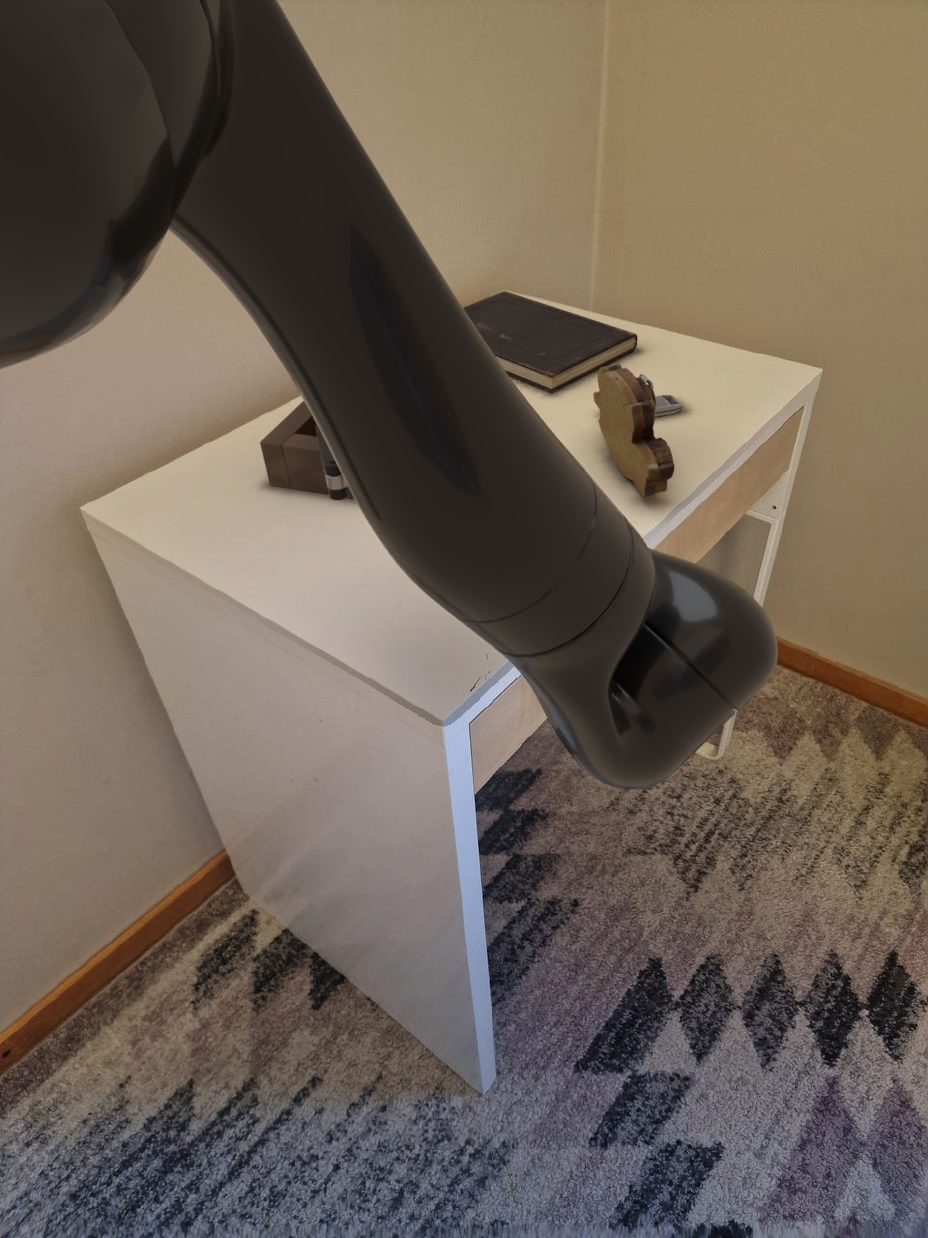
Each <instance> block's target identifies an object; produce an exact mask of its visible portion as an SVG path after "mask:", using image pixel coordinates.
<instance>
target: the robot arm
mask: <svg viewBox="0 0 928 1238" xmlns="http://www.w3.org/2000/svg"><path fill="white" fill-rule="evenodd" d="M168 231H169V232H170V233H172V234H173V235H174V236H175V237H176V238H178V240H180V241H181V242H182V243H183V244H184V245H185V246H186V247H188V249H190V251H192V252H193V253H194V254H195V255H196V256H197V257H198V258H199V259H200V260H201V261H202V262H203V263H204V264H205V265H206V266H207V267H208V268H209V269H210V270H211V272H213V274H214V275H215V276H216V277H218V279H219V280H220V281H221V283H223V285H224V286H225V287H226V288H227V289H228V290H229V291H230V292H231V293H232V295H233V297H235V298H236V300H237V301H238V302H239V303H240V305H241V307H243V309H244V310H245V312H246V313H247V314H248V315H249V316H250V318H251V320H253V322H254V323H255V324H256V326H257V328H258V329H259V330H260V333H262V335H263V337H264V338H265V339H266V341H267V343H268V344H269V345H270V347H271V348H272V350H273V352H274V354H275V355H276V357H277V358H278V359H279V361H280V362H281V364H282V366H283V367H284V369H285V370H286V371H287V374H288V376H289V377H290V379H291V381H292V382H293V384H294V386H295V387H296V389H297V391H298V394H299V395H300V396H301V398H302V401H304V402H305V404H306V405H307V407H308V409H309V411H310V412H311V414H312V416H313V418H314V420H315V422H316V426H315V428H316V434H317V438H318V442H319V447H320V457H321V462H322V466H323V470H324V475H325V479H326V483H327V488H328V492H329V494H328V497H329V498H330V499H331V500H332V501H343V500H345V499H347V498H346V497H347V496H348V495H349V493H348V487H349V489H350V491H351V493H352V495H353V497H354V499H353V500H354V501H355V502H356V504H357V506H358V508H359V509H360V511H361V514H362V515H363V516H364V518H365V520H366V521H367V523H368V525H369V526H370V528H371V529H372V531H373V533H374V534H375V535H376V537H377V539H378V540H379V541H380V543H381V545H382V546H383V547H384V549H385V550H386V551H387V553H388V554H389V556H390V557H391V558H392V560H393V561H394V562H395V563H396V565H397V566H398V567H399V568H400V569H401V571H403V573H404V574H405V575H406V576H407V577H408V579H409V580H410V581H411V582H413V583H414V584H415V585H416V586H417V587H418V588H419V589H420V590H421V591H422V593H424V594H426V596H427V597H429V598H430V599H431V600H433V601H434V602H435V603H436V604H437V605H439V606H440V607H441V608H442V609H444V611H446V612H447V613H448V614H450V615H451V616H452V617H453V618H455V619H457V620H458V621H459V622H461V623H462V624H463V625H464V626H465V627H467V628H468V629H469V630H470V631H472V632H473V633H474V634H475V635H477V636H478V637H479V638H480V639H482V640H483V641H485V642H486V643H487V644H489V645H490V646H491V647H492V648H494V650H496V651H497V652H498V653H500V654H501V655H502V656H503V658H505V659H507V661H509V662H510V664H511V665H513V666H514V668H515V669H516V670H517V671H518V672H519V673H520V674H521V675H522V677H523V678H524V680H525V681H526V682H527V684H528V685H529V686H530V688H531V690H532V691H533V693H534V695H535V697H536V699H537V700H538V703H539V705H540V706H541V708H542V710H543V713H544V714H545V717H546V718H547V720H548V722H549V724H550V726H551V728H552V730H553V732H554V733H555V735H556V736H557V738H558V739H559V741H560V742H561V743H562V745H563V746H564V748H565V749H566V751H567V752H568V754H569V755H570V756H571V757H572V759H573V760H574V761H575V762H576V763H577V764H578V765H579V766H580V767H581V769H583V770H584V771H585V772H587V773H588V775H590V776H591V777H593V778H594V779H596V780H598V781H599V782H601V783H602V784H605V785H607V786H610V787H613V788H617V789H622V790H642V789H647V788H652V787H654V786H656V785H658V784H661V783H662V782H664V781H665V780H667V779H668V778H669V777H671V776H672V775H673V774H675V773H676V772H677V771H678V770H679V769H680V768H681V767H682V766H683V765H684V764H685V763H686V762H687V761H688V760H689V759H690V758H691V757H692V756H693V754H695V753H697V751H698V750H699V749H700V748H701V747H702V746H703V745H705V744H706V743H707V742H708V741H709V740H710V739H711V738H712V737H713V736H714V735H715V734H716V733H717V732H718V731H719V730H720V729H721V728H722V727H723V726H724V725H725V724H726V723H727V722H728V721H729V720H730V719H731V718H732V717H733V716H735V715H736V711H740V710H741V709H742V708H743V707H744V706H745V705H746V704H747V703H748V702H749V701H750V700H751V699H752V698H753V697H755V695H756V694H758V692H759V691H760V690H761V689H762V688H763V687H764V686H765V685H766V684H767V683H768V681H769V680H770V679H771V678H772V676H773V674H774V671H775V670H776V667H777V664H778V658H779V646H778V639H777V635H776V632H775V629H774V626H773V623H772V621H771V619H770V617H769V616H768V615H767V613H766V612H765V610H764V609H763V607H762V606H761V604H760V603H759V602H758V601H757V600H756V599H755V598H754V597H753V596H752V595H751V594H750V593H748V592H747V591H746V590H745V589H744V588H743V587H741V586H740V585H738V584H737V583H736V582H734V581H733V580H730V579H729V578H728V577H726V576H724V575H722V574H720V573H718V572H716V571H714V570H713V569H709V568H707V567H705V566H703V565H699V564H698V563H696V562H692V561H690V560H687V559H684V558H681V557H678V556H675V555H671V554H669V553H666V552H663V551H659V550H657V549H653V548H650V547H648V546H647V544H646V542H645V540H644V538H643V537H642V535H641V534H640V533H639V532H638V530H637V529H636V528H635V527H634V525H633V524H632V523H631V522H630V521H629V519H628V518H627V517H626V516H625V515H624V514H623V513H622V511H621V510H620V509H619V508H618V507H617V506H616V505H615V503H614V502H613V501H612V500H611V498H609V496H608V495H607V494H606V493H605V492H604V491H603V489H602V488H601V486H599V485H598V484H597V482H596V480H594V479H593V477H592V476H591V475H590V474H589V473H588V472H587V470H586V469H585V468H584V467H583V466H582V464H581V463H580V462H579V461H578V460H577V459H576V457H574V455H573V453H571V452H570V450H569V449H568V448H567V447H566V446H565V445H564V443H562V442H561V440H560V439H559V438H558V436H557V435H556V434H555V432H553V430H552V429H551V428H550V427H549V426H548V424H547V423H546V422H545V420H543V418H542V417H541V416H540V414H539V413H538V412H537V411H536V410H535V408H534V407H533V406H532V405H531V404H530V402H529V401H528V400H527V398H526V396H524V394H523V393H522V391H521V390H520V389H519V387H518V386H517V385H516V384H515V382H514V381H513V379H512V377H510V376H508V374H507V373H506V371H505V370H504V368H503V367H502V365H501V364H500V362H499V361H498V359H497V358H496V357H495V355H494V354H493V352H492V351H491V349H490V348H489V346H488V345H487V343H486V342H485V341H484V339H483V338H482V336H481V335H480V333H479V332H478V330H477V329H476V327H475V325H474V324H473V322H472V321H471V319H470V318H469V316H468V315H467V313H466V312H465V310H464V309H463V308H464V307H463V305H462V304H461V303H460V301H459V300H458V297H457V296H456V295H455V294H454V292H453V290H452V289H451V287H450V285H449V284H448V282H447V281H446V279H445V277H444V276H443V274H442V273H441V271H440V270H439V268H438V267H437V265H436V262H434V260H433V258H432V257H431V255H430V254H429V252H428V250H427V248H426V247H425V245H424V244H423V242H422V241H421V239H420V237H419V236H418V234H417V233H416V231H415V230H414V227H413V226H412V225H411V223H410V221H409V220H408V218H407V217H406V215H405V213H404V212H403V209H402V208H401V206H400V205H399V203H398V201H397V200H396V198H395V197H394V195H393V193H392V192H391V190H390V188H389V186H388V185H387V183H386V181H385V180H384V179H383V177H382V175H381V174H380V171H379V170H378V168H377V167H376V165H375V163H374V162H373V160H372V159H371V157H370V155H369V153H368V152H367V151H366V149H365V148H364V146H363V144H362V143H361V141H360V139H359V137H358V136H357V134H356V133H355V131H354V129H353V128H352V126H351V124H350V123H349V122H348V120H347V118H346V116H345V115H344V114H343V112H342V109H341V108H340V106H339V105H338V103H337V102H336V100H335V99H334V96H333V95H332V93H331V91H330V90H329V88H328V86H327V84H326V83H325V81H324V79H323V77H322V76H321V74H320V72H319V70H318V69H317V67H316V66H315V63H314V62H313V60H312V58H311V57H310V55H309V53H308V52H307V50H306V48H305V46H304V44H303V43H302V42H301V39H300V38H299V36H298V33H296V31H295V29H294V27H293V26H292V24H291V22H290V20H289V19H288V16H287V15H286V13H285V11H284V10H283V8H282V6H281V5H280V3H279V1H278V0H0V370H2V369H4V368H9V367H12V366H14V365H17V364H21V363H24V362H26V361H29V360H32V359H36V358H37V357H40V356H42V355H45V354H47V353H50V352H53V351H54V350H56V349H59V348H60V347H63V346H65V345H68V344H70V343H71V342H73V341H75V340H76V339H78V338H80V337H82V336H83V335H85V334H87V333H89V332H90V331H91V330H92V329H94V328H95V327H96V326H98V325H99V324H101V323H102V322H103V321H104V320H105V319H107V317H108V316H110V314H111V313H113V311H115V310H116V308H117V307H118V306H119V305H120V304H121V303H122V302H123V301H124V300H125V299H126V298H127V296H128V295H129V294H130V292H131V291H132V290H133V289H134V287H135V286H136V285H137V284H138V283H139V281H140V280H141V278H142V277H143V276H144V274H145V273H146V272H147V270H148V269H149V267H150V266H151V264H152V263H153V261H154V259H155V257H156V255H157V253H158V252H159V250H160V248H161V246H162V243H163V241H164V239H165V237H166V235H167V233H168Z"/></svg>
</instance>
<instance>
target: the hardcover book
mask: <svg viewBox="0 0 928 1238" xmlns="http://www.w3.org/2000/svg"><path fill="white" fill-rule="evenodd" d="M463 309H464V310H465V312H466V313H467V315H468V316H469V318H470V319H471V321H472V322H473V324H474V325H475V327H476V329H477V330H478V332H479V333H480V335H481V336H482V338H483V339H484V341H485V342H486V343H487V345H488V346H489V348H490V349H491V351H492V352H493V354H494V355H495V357H496V358H497V359H498V361H499V362H500V364H501V365H502V367H503V368H504V370H505V371H506V373H507V374H508V376H509V377H510V378H511V379H516V380H517V381H520V382H522V383H525V384H526V385H527V384H528V385H530V386H532V387H535V388H537V389H539V390H542V391H545V392H547V393H548V394H553V393H554V392H556V391H559V390H560V389H562V388H564V387H566V386H568V385H570V384H572V383H574V382H576V381H577V380H580V379H582V378H584V377H586V376H587V375H590V374H592V373H594V372H595V371H599V369H600V368H602V367H606V366H607V365H609V364H611V363H613V362H615V361H617V360H619V359H621V358H624V357H625V356H627V355H629V354H631V353H634V351H635V350H636V349H637V347H638V335H637V334H636V333H634V332H631V331H629V330H626V329H622V328H619V327H616V326H614V325H610V324H608V323H604V322H602V321H598V320H595V319H592V318H590V317H586V316H582V315H580V314H577V313H573V312H571V311H567V310H564V309H562V308H558V307H556V306H552V305H549V304H546V303H543V302H540V301H537V300H534V299H532V298H528V297H526V296H522V295H520V294H519V295H518V294H516V293H514V292H513V293H512V292H510V291H507V290H503V291H500V292H498V293H496V294H493V295H491V296H489V297H488V296H487V297H486V298H483V299H480V300H478V301H476V302H473V303H471V304H469V305H466V306H464V307H463Z"/></svg>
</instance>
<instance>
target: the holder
mask: <svg viewBox="0 0 928 1238" xmlns="http://www.w3.org/2000/svg"><path fill="white" fill-rule="evenodd" d="M315 426H316V422H315V420H314V418H313V416H312V414H311V412H310V411H309V409H308V407H307V405H306V404H305V402H304V400H302V401H301V402H300V403H299V404H298V405H297V406H296V407H295V408H294V409H293V410H292V411H291V412H290V413H288V415H287V416H286V417H284V418H283V419H282V420H281V422H279V424H277V425H276V426H275V427H274V428H273V429H272V430H271V431H270V432H269V433H267V434H266V436H264V437H263V438H262V440H260V441H259V444H260V449H261V453H262V458H263V462H264V466H265V471H266V475H267V478H268V482H269V485H270V486H273V487H280V488H286V489H293V490H300V491H305V492H310V493H316V494H317V493H318V494H322V495H329V492H328V488H327V483H326V479H325V475H324V470H323V466H322V462H321V457H320V447H319V442H318V438H317V434H316V428H315ZM348 493H349V495H348V496H347V497H346V498H345V499H352V500H355V499H354V497H353V495H352V493H351V491H350V489H349V487H348Z"/></svg>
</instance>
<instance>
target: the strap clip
mask: <svg viewBox="0 0 928 1238" xmlns="http://www.w3.org/2000/svg"><path fill="white" fill-rule="evenodd" d="M638 377H640V378H641V379H643V380H644V382H645V383H646V384H647V385H648V384H649V385H650V386H651V387H652V389H653V390H654V383H653V382H652V380H651V379H649V378H648V377H647V376H646V374H643V373H641V374H639V376H638ZM655 400H656V405H655V406H656V408H655V411H654V415H655V418H657V417H663V416H668V415H674V414H676V413H679V412H680V411H681V410H682V409H683V403H682V402H681V401H679V400H678V399H677V398H676V397H675V396H674V395H672V394H660V395H655Z"/></svg>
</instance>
